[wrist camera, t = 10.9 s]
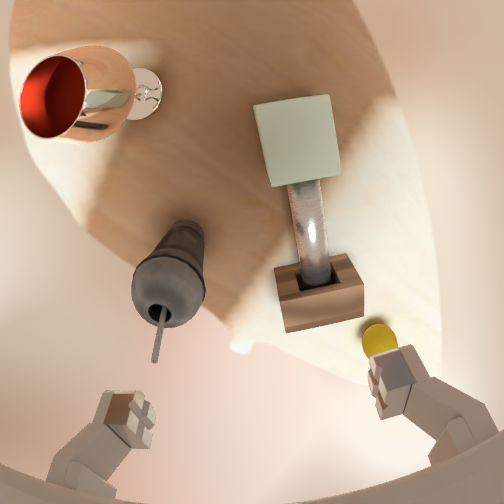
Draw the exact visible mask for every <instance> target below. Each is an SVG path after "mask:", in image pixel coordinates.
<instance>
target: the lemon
mask: <svg viewBox="0 0 504 504" xmlns="http://www.w3.org/2000/svg"><path fill="white" fill-rule="evenodd" d="M362 346H363V350H364V353H365V354H366V356H367V357H368V358H370V356H372V355H375V354H379V353H382V352H386V351H389V350H392V349H395V348H398V343H397V339H396V336H395V334H394V332H393V331H392V330H391V329H390V328H389V327H388V326H386V325H384V324H374V325H372V326H370V327H369V328H368V329H367V330H366V331H365V332H364V334H363V337H362Z"/></svg>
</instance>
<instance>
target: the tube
mask: <svg viewBox="0 0 504 504" xmlns="http://www.w3.org/2000/svg"><path fill="white" fill-rule="evenodd" d="M287 190H288V195H289V201H290V207H291V213H292V218H293V224H294V230H295V236H296V242H297V249H298V255H299V261H300V268H301V274H302V281H303V288H304V291H305V290H310V289H315V288H320V287H324V286H329V285H332V283H331V272H330V261H329V251H328V241H327V232H326V224H325V216H324V208H323V200H322V193H321V185H320V178H319V179H314V180H308V181H303V182H297V183H292V184H287Z"/></svg>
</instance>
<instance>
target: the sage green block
mask: <svg viewBox="0 0 504 504" xmlns="http://www.w3.org/2000/svg"><path fill="white" fill-rule="evenodd" d="M252 106H253V110H254V115H255V119H256V124H257V128H258V133H259V138H260V142H261V147H262V152H263V156H264V161H265V166H266V171H267V174H268V177H269V180H270V184H271V187H277V186H282V185H287V184H292V183H297V182H303V181H308V180H314V179H319V178H325V177H331V176H337V175H342V174H341V166H340V158H339V151H338V144H337V137H336V131H335V124H334V118H333V113H332V107H331V101H330V96H329V94H325V95H311V96H304V97H297V98H291V99H285V100H279V101H273V102H267V103H262V104H257V105H252Z"/></svg>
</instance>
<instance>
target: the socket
mask: <svg viewBox="0 0 504 504" xmlns="http://www.w3.org/2000/svg"><path fill="white" fill-rule="evenodd" d="M329 261H330V272H331V283H332V285H329V286H324V287H320V288H315V289H310V290H305V291H304V288H303V281H302V274H301V268H300V263H298V264H293V265H288V266H283V267H278V268H274V271H275V277H276V283H277V289H278V295H279V301H280V306H281V311H282V316H283V321H284V326H285V331H286V333H290V332H295V331H300V330H305V329H310V328H315V327H319V326H324V325H329V324H333V323H338V322H342V321H346V320H350V319H355V318H359V317H363V316H364V283H363V281H362V280H361V278H360V276H359V274H358V273H357V271H356V269H355V268H354V266H353V264H352V263H351V261H350V259H349V257H348V256H347V254H341V255H337V256H332V257H329Z"/></svg>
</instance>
